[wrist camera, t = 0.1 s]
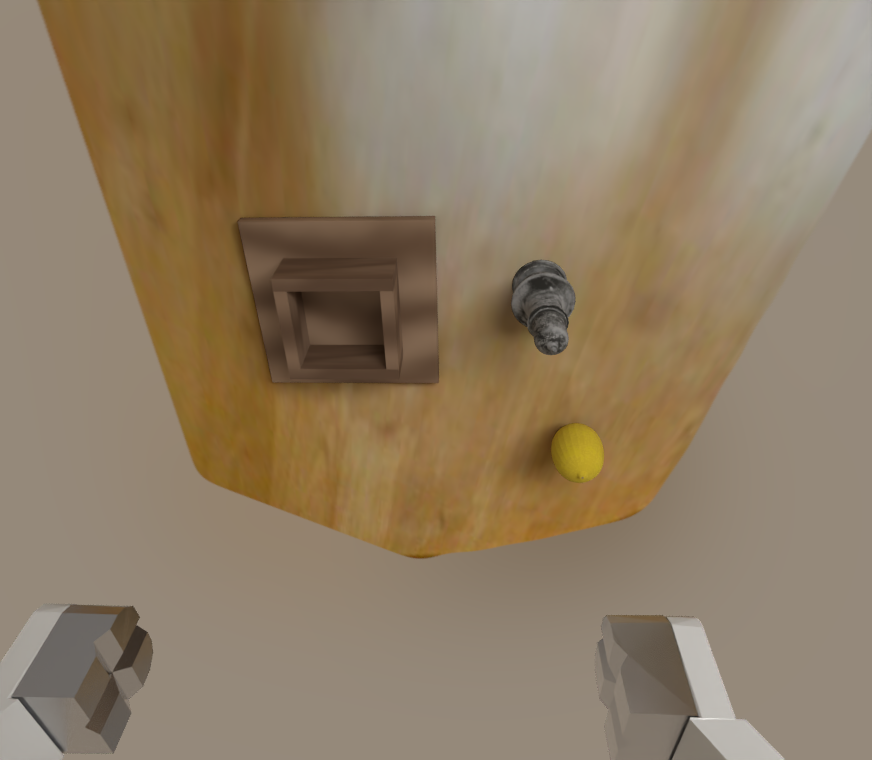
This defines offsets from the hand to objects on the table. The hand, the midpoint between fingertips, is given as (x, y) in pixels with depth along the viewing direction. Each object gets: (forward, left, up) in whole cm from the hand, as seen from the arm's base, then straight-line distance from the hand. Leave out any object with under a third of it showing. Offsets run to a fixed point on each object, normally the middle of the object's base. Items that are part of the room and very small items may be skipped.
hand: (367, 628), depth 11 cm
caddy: (+19, -10, -48) cm, 53 cm away
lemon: (+35, +14, -48) cm, 61 cm away
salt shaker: (+17, +9, -48) cm, 52 cm away
